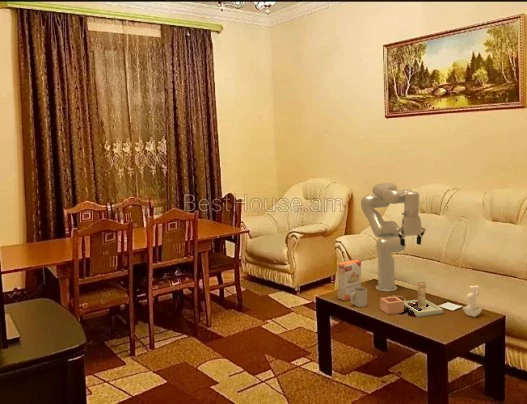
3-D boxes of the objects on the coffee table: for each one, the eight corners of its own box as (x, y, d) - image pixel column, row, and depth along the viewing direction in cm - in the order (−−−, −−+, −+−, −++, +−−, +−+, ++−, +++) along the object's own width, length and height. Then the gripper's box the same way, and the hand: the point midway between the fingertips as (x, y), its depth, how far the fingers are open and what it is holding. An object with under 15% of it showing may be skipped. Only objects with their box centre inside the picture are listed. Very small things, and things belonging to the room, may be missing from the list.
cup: (369, 305, 280) (369, 290, 279) (353, 308, 276) (353, 292, 275) (362, 302, 286) (362, 286, 285) (346, 304, 283) (346, 289, 282)
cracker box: (345, 301, 288) (345, 265, 286) (337, 299, 293) (337, 263, 290) (361, 295, 297) (361, 260, 294) (354, 293, 302) (353, 259, 299)
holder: (380, 308, 274) (380, 298, 273) (395, 307, 276) (395, 296, 275) (388, 314, 265) (388, 303, 264) (403, 312, 267) (403, 301, 267)
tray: (401, 306, 277) (401, 301, 277) (424, 303, 280) (424, 298, 280) (418, 317, 260) (418, 312, 260) (443, 313, 263) (443, 309, 263)
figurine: (461, 315, 260) (461, 286, 258) (470, 310, 266) (471, 282, 264) (474, 318, 254) (474, 289, 252) (484, 314, 260) (484, 285, 258)
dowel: (416, 307, 272) (416, 282, 270) (422, 306, 272) (422, 281, 271) (420, 310, 268) (420, 284, 266) (427, 309, 269) (427, 283, 267)
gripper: (400, 216, 272) (399, 247, 275) (429, 214, 276) (428, 245, 278) (393, 214, 279) (392, 244, 282) (422, 211, 283) (421, 242, 286)
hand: (410, 244), depth 280 cm, fingers open, 9 cm apart
